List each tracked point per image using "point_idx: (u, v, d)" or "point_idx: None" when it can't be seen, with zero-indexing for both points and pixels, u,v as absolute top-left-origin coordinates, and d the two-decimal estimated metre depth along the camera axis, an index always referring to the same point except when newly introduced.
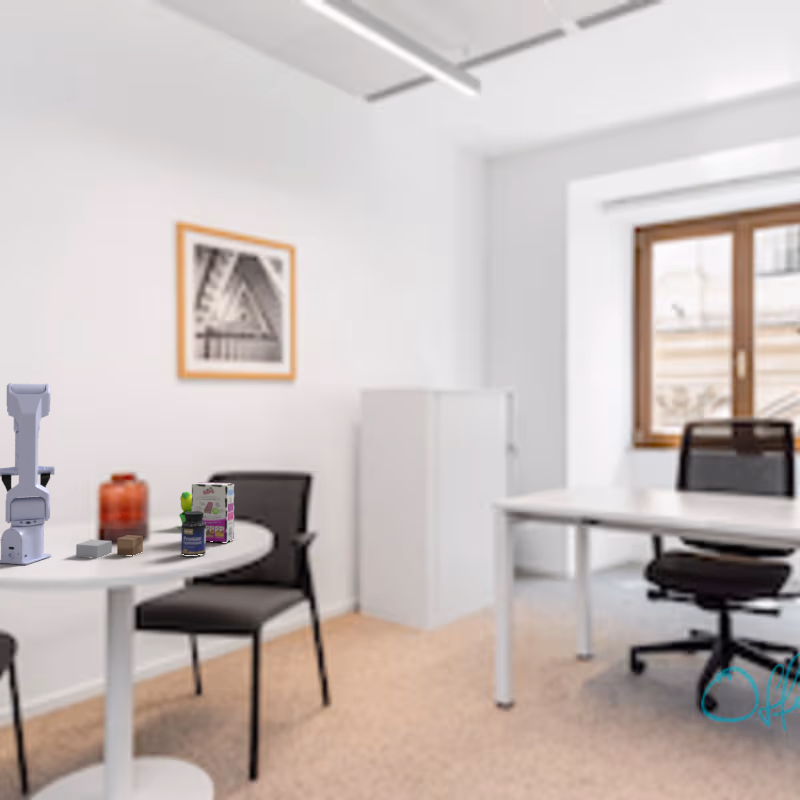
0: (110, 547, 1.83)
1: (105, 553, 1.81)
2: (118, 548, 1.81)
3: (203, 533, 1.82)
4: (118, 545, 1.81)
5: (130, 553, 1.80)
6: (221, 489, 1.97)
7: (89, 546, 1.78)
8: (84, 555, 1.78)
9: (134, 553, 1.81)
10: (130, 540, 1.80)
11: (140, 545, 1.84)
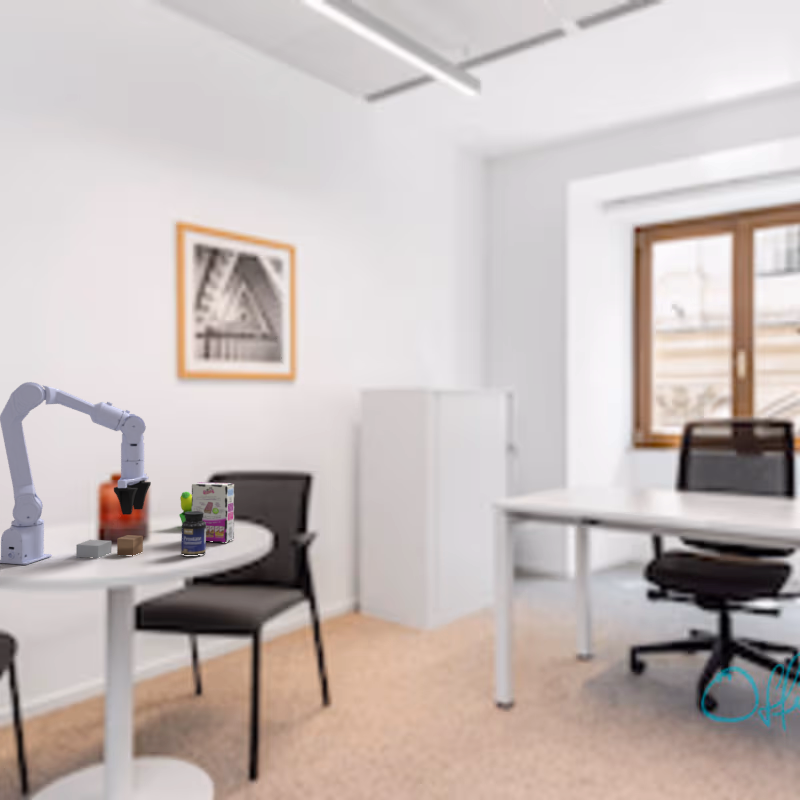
0: (110, 547, 1.83)
1: (105, 553, 1.81)
2: (118, 548, 1.81)
3: (203, 533, 1.82)
4: (118, 545, 1.81)
5: (130, 553, 1.80)
6: (221, 489, 1.97)
7: (90, 546, 1.78)
8: (84, 555, 1.78)
9: (134, 553, 1.81)
10: (130, 540, 1.80)
11: (140, 545, 1.84)
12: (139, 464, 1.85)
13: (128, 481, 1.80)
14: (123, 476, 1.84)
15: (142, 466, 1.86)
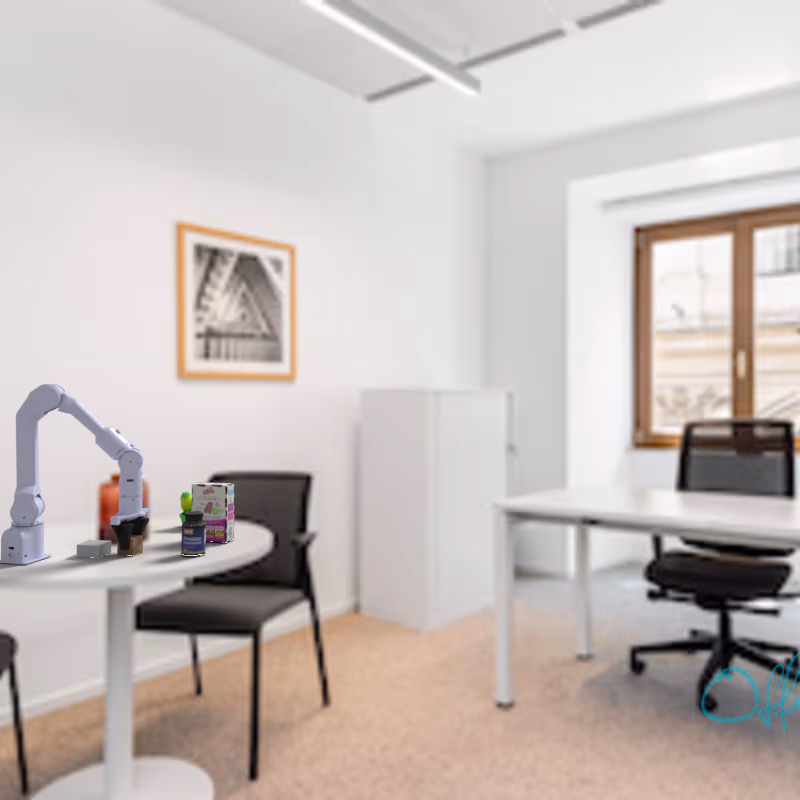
0: (110, 547, 1.83)
1: (106, 553, 1.81)
2: (118, 548, 1.81)
3: (203, 533, 1.82)
4: (118, 545, 1.81)
5: (130, 553, 1.80)
6: (221, 489, 1.97)
7: (90, 546, 1.78)
8: (85, 555, 1.78)
9: (134, 553, 1.81)
10: (130, 540, 1.80)
11: (140, 545, 1.84)
12: (136, 500, 1.81)
13: (121, 518, 1.77)
14: (120, 512, 1.81)
15: (139, 502, 1.82)
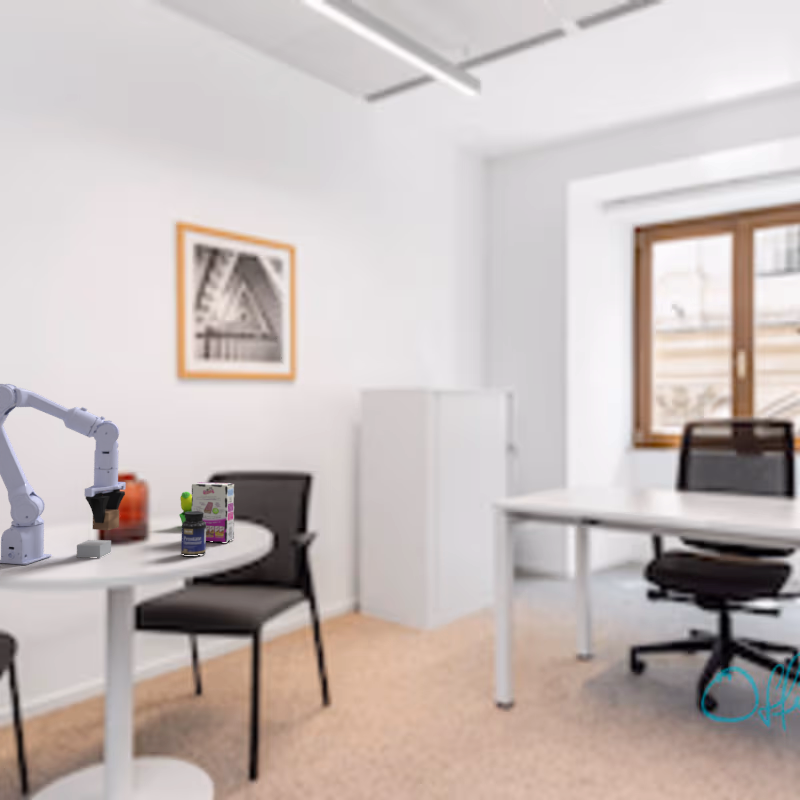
0: (110, 546, 1.83)
1: (106, 553, 1.81)
2: (93, 521, 1.80)
3: (203, 533, 1.82)
4: (93, 518, 1.80)
5: (105, 526, 1.79)
6: (221, 489, 1.97)
7: (91, 546, 1.78)
8: (85, 555, 1.78)
9: (110, 526, 1.80)
10: (106, 513, 1.79)
11: (116, 519, 1.82)
12: (111, 473, 1.80)
13: (96, 490, 1.76)
14: (95, 484, 1.79)
15: (114, 474, 1.80)
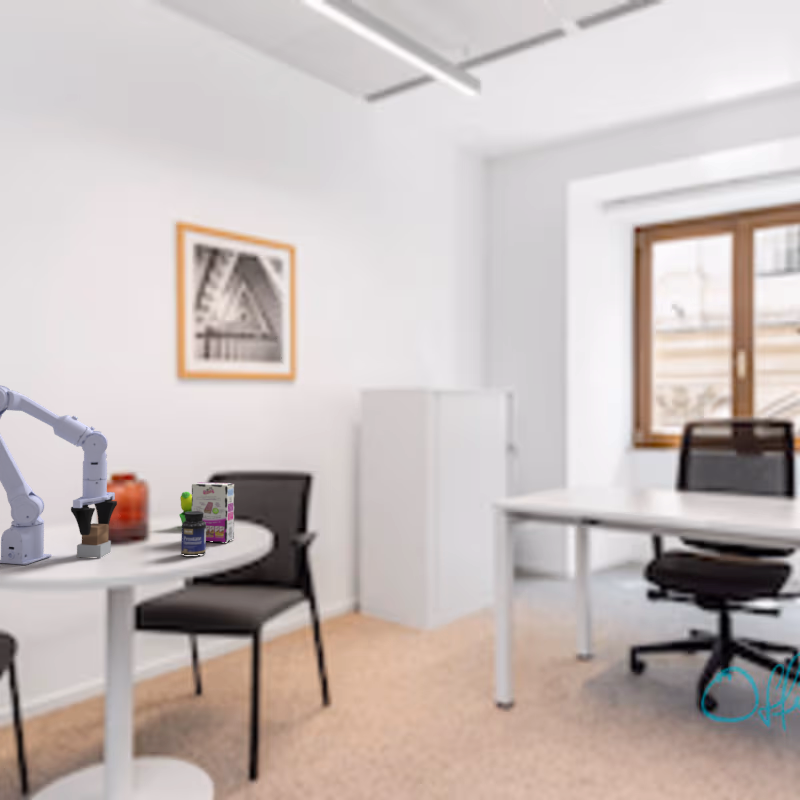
0: (109, 547, 1.83)
1: (106, 553, 1.81)
2: (82, 536, 1.79)
3: (203, 533, 1.82)
4: None
5: (94, 541, 1.79)
6: (221, 489, 1.97)
7: (91, 546, 1.78)
8: (86, 555, 1.78)
9: (99, 541, 1.79)
10: (94, 528, 1.79)
11: (105, 533, 1.82)
12: (100, 484, 1.79)
13: (84, 501, 1.75)
14: (83, 495, 1.79)
15: (103, 485, 1.80)
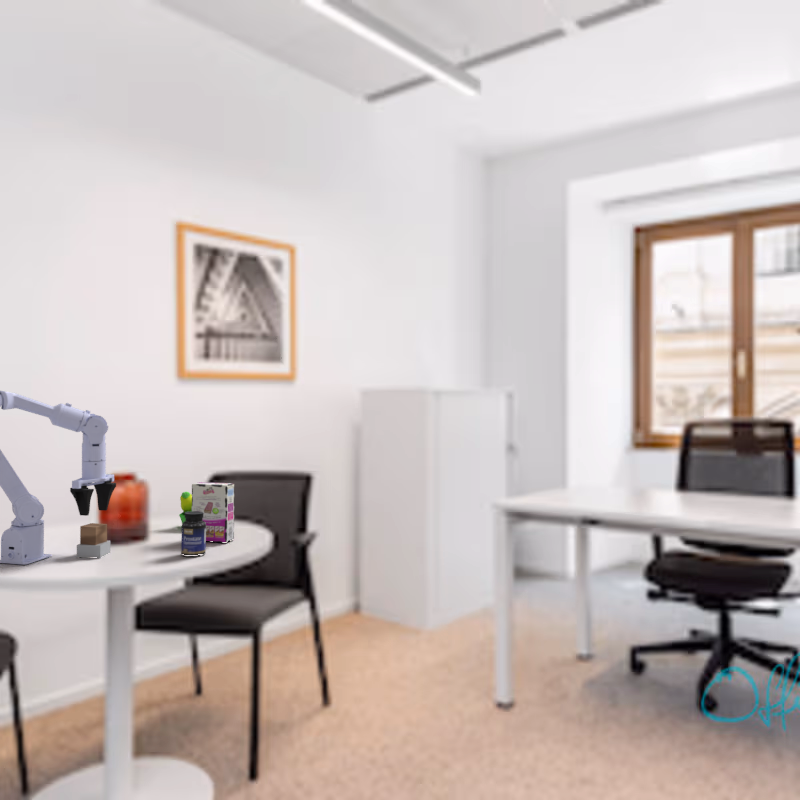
0: (109, 546, 1.83)
1: (105, 553, 1.81)
2: (81, 536, 1.79)
3: (203, 533, 1.82)
4: (81, 533, 1.79)
5: (93, 541, 1.79)
6: (221, 489, 1.97)
7: (91, 546, 1.78)
8: (85, 555, 1.78)
9: (97, 541, 1.79)
10: (93, 528, 1.79)
11: (104, 533, 1.82)
12: (98, 465, 1.82)
13: (83, 482, 1.78)
14: (82, 476, 1.82)
15: (102, 467, 1.83)
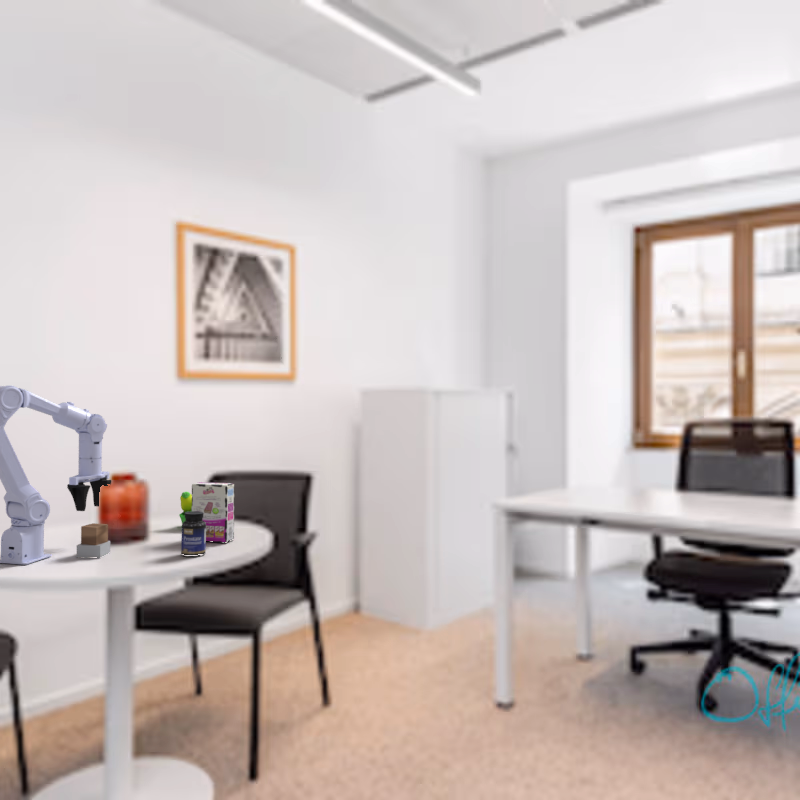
0: (109, 547, 1.83)
1: (105, 553, 1.81)
2: (82, 536, 1.79)
3: (203, 533, 1.82)
4: (82, 533, 1.79)
5: (93, 541, 1.79)
6: (221, 489, 1.97)
7: (91, 546, 1.78)
8: (85, 555, 1.78)
9: (98, 541, 1.79)
10: (93, 528, 1.79)
11: (105, 533, 1.82)
12: (95, 462, 1.88)
13: (80, 478, 1.84)
14: (79, 473, 1.88)
15: (98, 464, 1.89)
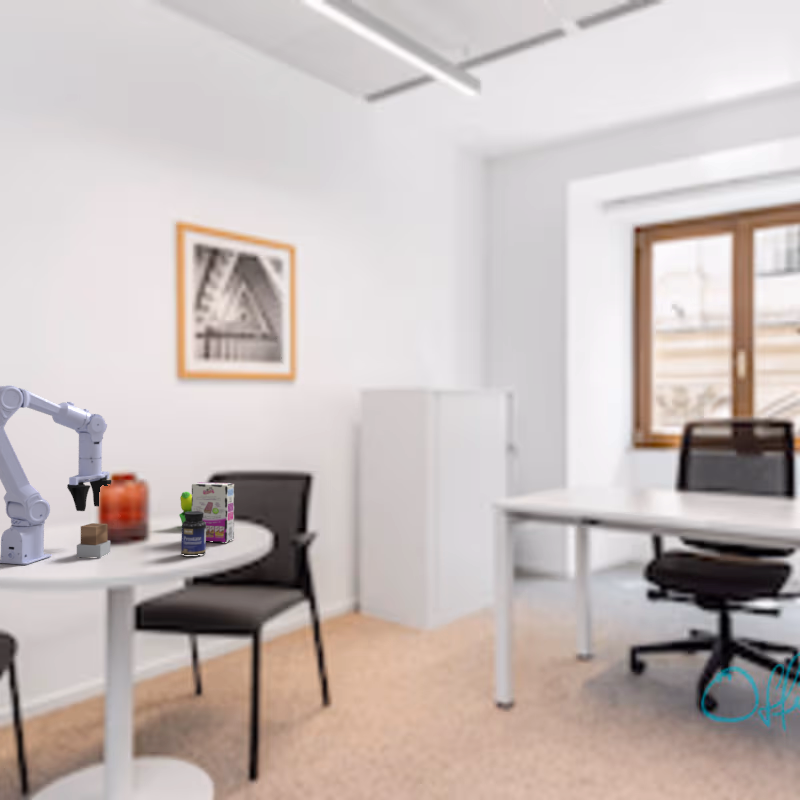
0: (109, 546, 1.83)
1: (105, 552, 1.81)
2: (81, 536, 1.79)
3: (203, 533, 1.82)
4: (81, 533, 1.79)
5: (93, 541, 1.78)
6: (221, 489, 1.97)
7: (91, 546, 1.78)
8: (85, 555, 1.78)
9: (97, 541, 1.79)
10: (93, 528, 1.78)
11: (104, 533, 1.81)
12: (95, 462, 1.88)
13: (80, 478, 1.84)
14: (79, 473, 1.88)
15: (98, 464, 1.89)
